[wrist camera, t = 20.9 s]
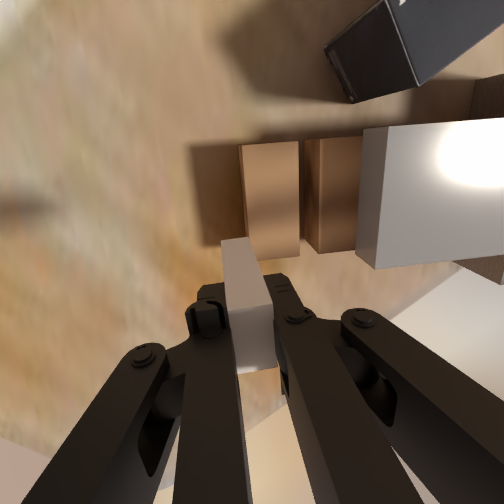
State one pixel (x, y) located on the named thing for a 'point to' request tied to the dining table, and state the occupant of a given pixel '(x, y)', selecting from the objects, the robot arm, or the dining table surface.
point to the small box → (407, 43)
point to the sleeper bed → (287, 195)
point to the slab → (431, 193)
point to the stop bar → (483, 107)
